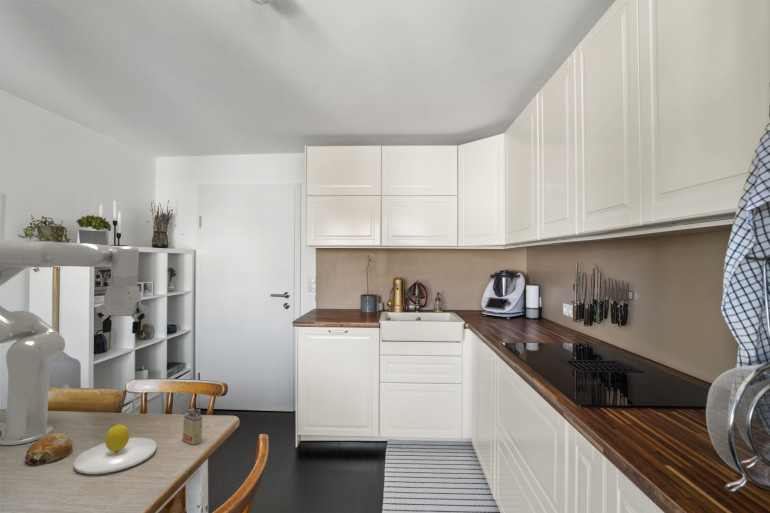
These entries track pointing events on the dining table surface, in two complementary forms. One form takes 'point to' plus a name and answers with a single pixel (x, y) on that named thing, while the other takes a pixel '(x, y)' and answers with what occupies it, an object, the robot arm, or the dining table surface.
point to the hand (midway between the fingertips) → (121, 332)
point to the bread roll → (49, 449)
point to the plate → (114, 457)
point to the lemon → (117, 438)
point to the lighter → (192, 427)
